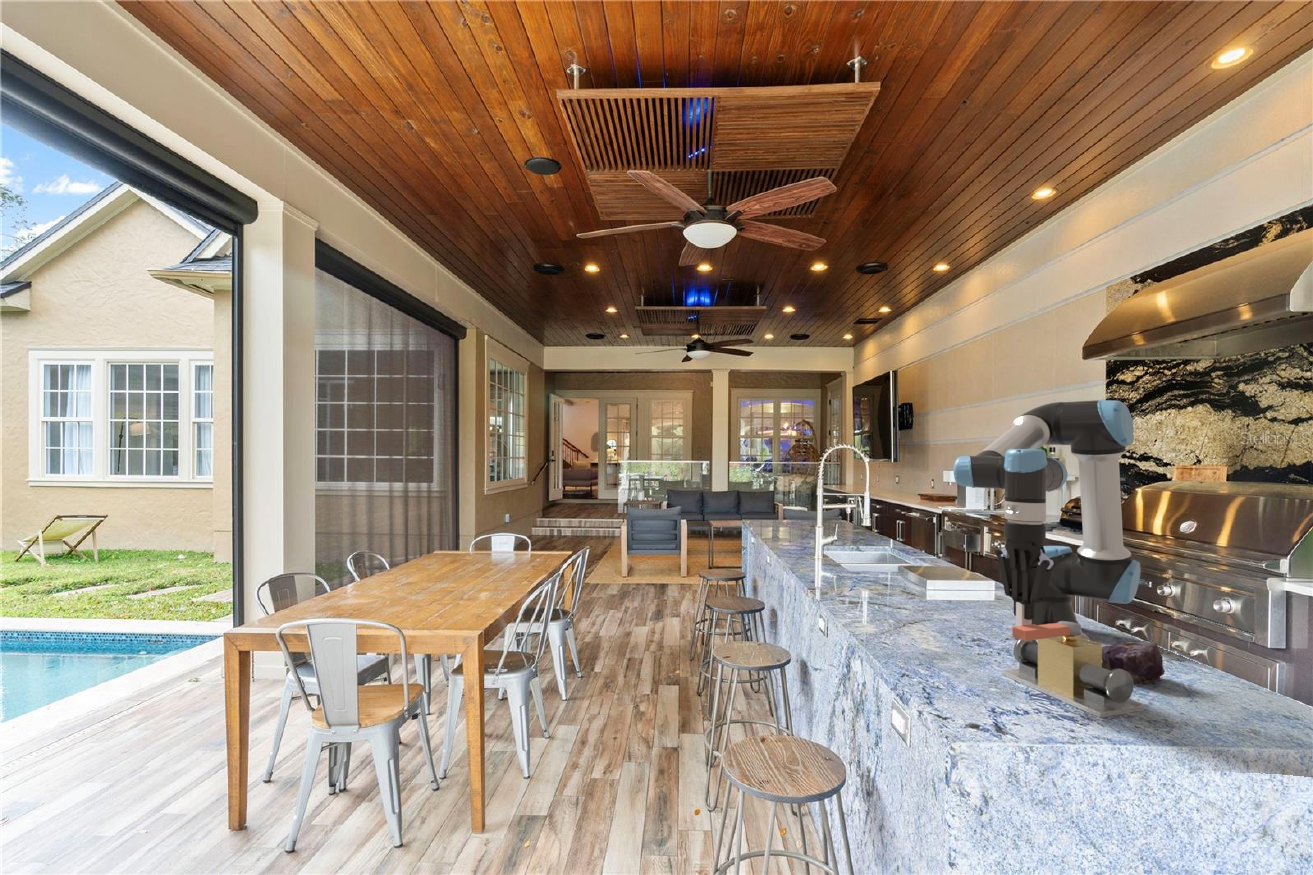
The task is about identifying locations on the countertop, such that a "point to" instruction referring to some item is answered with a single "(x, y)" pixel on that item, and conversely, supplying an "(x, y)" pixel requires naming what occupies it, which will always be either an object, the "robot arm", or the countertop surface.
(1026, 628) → the lever
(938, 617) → the countertop surface
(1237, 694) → the countertop surface
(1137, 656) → the rock
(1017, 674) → the valve
